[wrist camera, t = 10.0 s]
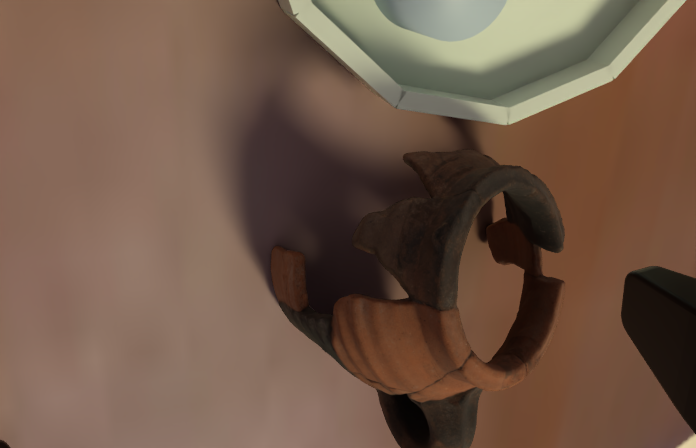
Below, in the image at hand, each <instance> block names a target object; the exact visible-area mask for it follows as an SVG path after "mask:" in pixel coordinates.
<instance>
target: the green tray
mask: <svg viewBox="0 0 696 448" xmlns="http://www.w3.org/2000/svg"><path fill="white" fill-rule="evenodd" d="M685 1H686V0H507V2H506V4H505V6H504V7H503V9H502V11H501V12H500V14H499V15H498V16H497V18H496V19H495V20H494V21H493V22H492V23H491V24H490V25H489V26H488V27H487V28H486V29H484V30H483V31H482V32H480V33H479V34H477V35H475V36H473V37H471V38H468V39H465V40H461V41H453V42H448V41H441V40H437V39H434V38H431V37H428V36H425V35H422V34H419V33H416V32H413V31H410V30H407V29H404V28H401V27H399V26H397V25H395V24H394V23H392V22H390V21H389V20H388V19H387V18H386V17H385V16H384V15H383V14H382V12H381V11H380V10H379V8H378V6H377V5H376V2H375V0H278V2H279V5H280V8H281V9H283V10H282V11H283V12H284V13H286V14H287V15H288V16H289V17H290V18H291V19H292V20H293V21H294V22H295V23H297V24H298V25H299V26H300V27H301V28H302V29H303V30H304V31H305V32H307V33H308V34H309V35H310V36H311V37H312V38H313V39H314V40H315V41H316V42H318V43H319V44H320V45H321V46H322V47H323V48H324V49H325V50H326V51H328V52H329V53H330V54H331V55H332V56H333V57H334V58H335V59H336V60H337V61H339V62H340V63H341V64H342V65H343V66H344V67H345V68H346V69H347V70H349V71H350V72H351V73H352V74H353V75H354V76H355V77H356V78H357V79H358V80H360V81H361V82H362V83H363V84H364V85H365V86H366V87H367V88H368V89H370V90H371V91H372V92H373V93H374V94H375V95H377V96H378V97H380V98H381V99H383V100H384V101H386V102H387V103H389V104H390V105H391V106H393V107H394V108H396V109H402V110H409V111H415V112H422V113H429V114H435V115H442V116H449V117H455V118H462V119H469V120H475V121H482V122H489V123H495V124H502V125H507V124H508V125H510V124H512V123H514V122H517V121H519V120H521V119H524V118H526V117H528V116H531V115H533V114H535V113H538V112H540V111H543V110H545V109H547V108H550V107H552V106H554V105H557V104H559V103H561V102H564V101H566V100H568V99H571V98H573V97H575V96H578V95H580V94H582V93H585V92H587V91H589V90H592V89H594V88H596V87H599V86H601V85H603V84H606V83H608V82H610V81H613V79H615V78H616V77H617V76H618V75H619V74H620V73H621V72H622V71H623V69H624V68H625V67H626V66H627V65H628V64H629V63H630V62H631V61H632V59H633V58H634V57H635V56H636V55H637V54H638V53H639V52H640V51H641V50H642V48H643V47H644V46H645V45H646V44H647V43H648V42H649V41H650V40H651V39H652V37H653V36H654V35H655V34H656V33H657V32H658V31H659V30H660V29H661V28H662V26H663V25H664V24H665V23H666V22H667V21H668V20H669V19H670V18H671V17H672V15H673V14H674V13H675V12H676V11H677V10H678V9H679V8H680V7H681V5H682V4H683V3H684V2H685Z"/></svg>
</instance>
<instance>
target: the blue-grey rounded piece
mask: <svg viewBox="0 0 696 448" xmlns="http://www.w3.org/2000/svg"><path fill="white" fill-rule="evenodd" d="M375 2H376V5H377V6H378V8H379V10H380V11H381V12H382V14H383V15H384V16H385V17H386V18H387V19H388V20H389V21H390V22H392V23H394V24H395V25H397V26H399V27H401V28H404V29H407V30H410V31H413V32H416V33H419V34H422V35H425V36H428V37H431V38H434V39H437V40H441V41H448V42H453V41H461V40H465V39H468V38H471V37H473V36H475V35H477V34H479V33H480V32H482V31H483V30H484V29H486V28H487V27H488V26H489V25H490V24H491V23H492V22H493V21H494V20H495V19H496V18H497V16H498V15H499V14H500V12H501V11H502V9H503V7H504V6H505V4H506V2H507V0H375Z"/></svg>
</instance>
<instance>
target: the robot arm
mask: <svg viewBox="0 0 696 448" xmlns="http://www.w3.org/2000/svg"><path fill="white" fill-rule="evenodd" d="M621 318H622V323H623V326H624V328H625V330H626V332H627V334H628V335H629V337H630V338H631V340H632V341H633V343H634V344H635V346H636V347H637V349H638V350H639V352H640V354H641V355H642V357H643V358H644V360H645V361H646V363H647V364H648V366H649V367H650V369H651V370H652V372H653V374H654V375H655V377H656V378H657V380H658V381H659V383H660V384H661V386H662V387H663V389H664V390H665V392H666V394H667V395H668V397H669V398H670V400H671V401H672V403H673V404H674V406H675V407H676V409H677V410H678V411H679V413H680V414H681V416H682V417H683V419H684V420H685V421H686V422H687V424H688V425H689V426H690V428H691V429H692V430H693V432H694V433H695V434H696V278H693V277H690V276H687V275H684V274H681V273H677V272H674V271H671V270H668V269H665V268H662V267H658V266H650V267H646V268H642V269H639V270H635V271H632V272H630V273H628V275H627V276H626V278H625V284H624V293H623V301H622V310H621ZM0 448H10V447H9V445H8V444H7V443H6V442H4V441H2V440H0Z"/></svg>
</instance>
